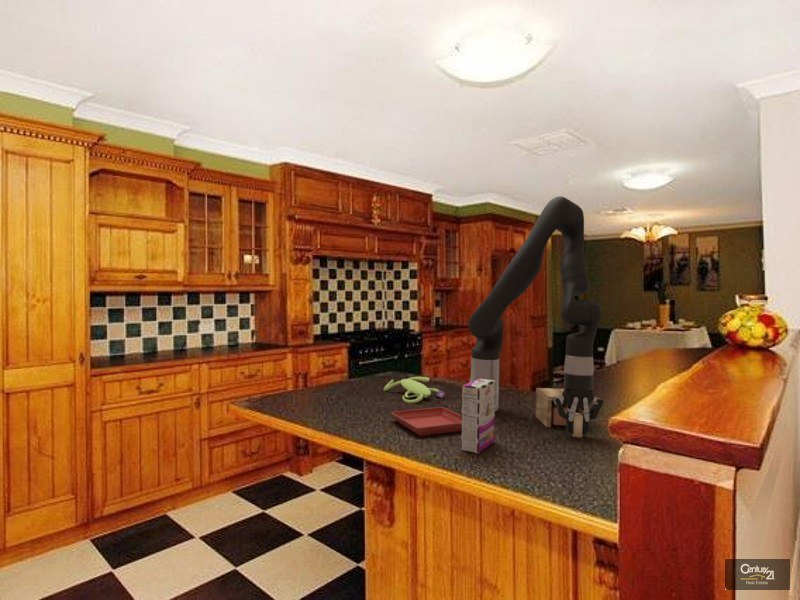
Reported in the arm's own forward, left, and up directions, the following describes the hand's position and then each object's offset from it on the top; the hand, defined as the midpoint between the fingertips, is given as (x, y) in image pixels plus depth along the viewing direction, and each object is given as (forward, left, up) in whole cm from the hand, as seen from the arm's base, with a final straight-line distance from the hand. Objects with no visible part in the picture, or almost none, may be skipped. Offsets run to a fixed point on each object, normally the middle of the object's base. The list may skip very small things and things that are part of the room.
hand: (576, 433), depth 131 cm
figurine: (-44, +48, -1) cm, 65 cm away
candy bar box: (-29, -11, -1) cm, 31 cm away
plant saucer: (-40, +6, -1) cm, 41 cm away
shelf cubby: (0, +14, -1) cm, 14 cm away
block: (0, +8, -1) cm, 8 cm away
